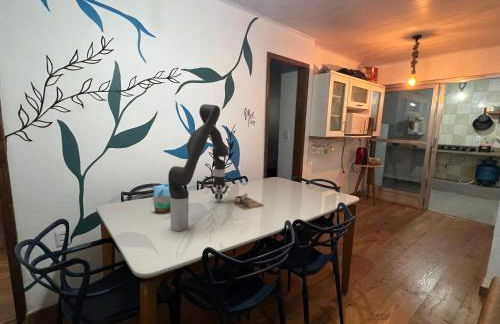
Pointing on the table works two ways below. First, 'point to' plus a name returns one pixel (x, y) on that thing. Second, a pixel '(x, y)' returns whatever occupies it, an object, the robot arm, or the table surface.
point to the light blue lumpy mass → (161, 190)
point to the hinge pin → (218, 195)
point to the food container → (161, 204)
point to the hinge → (242, 200)
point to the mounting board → (252, 205)
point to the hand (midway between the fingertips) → (218, 199)
